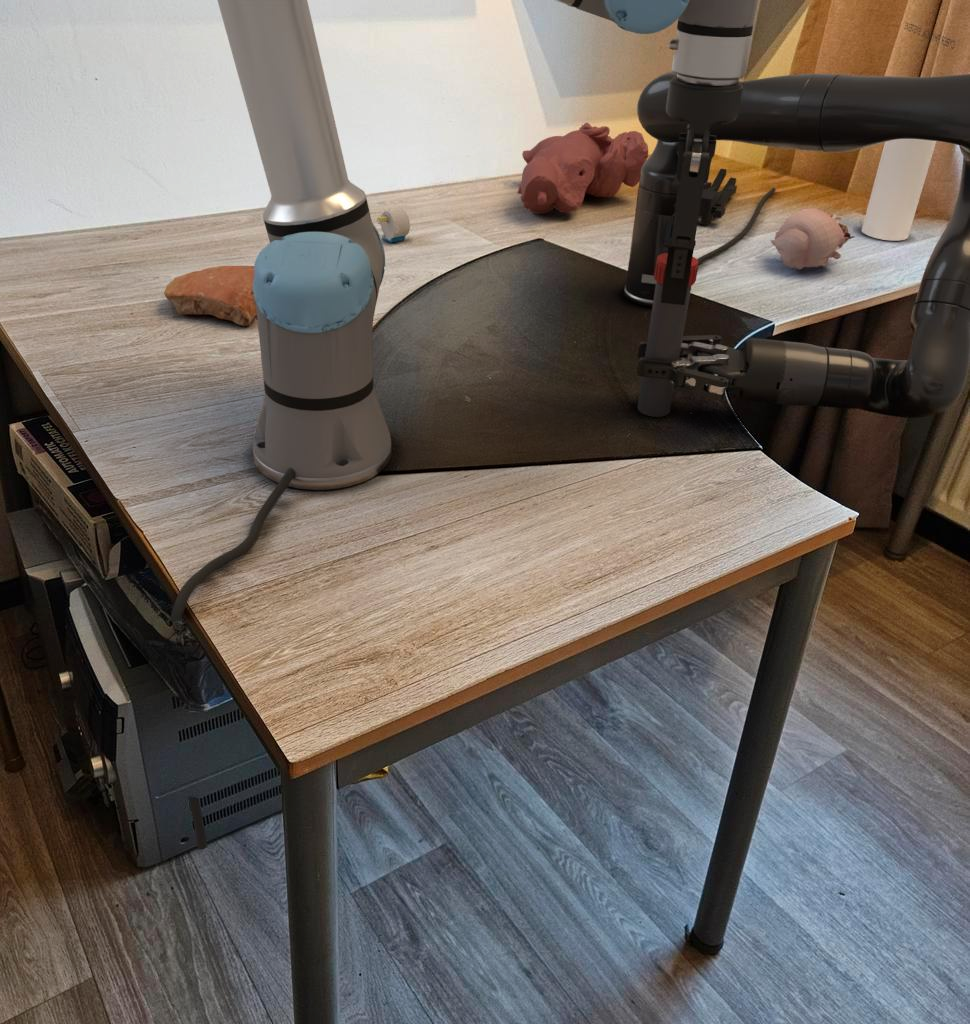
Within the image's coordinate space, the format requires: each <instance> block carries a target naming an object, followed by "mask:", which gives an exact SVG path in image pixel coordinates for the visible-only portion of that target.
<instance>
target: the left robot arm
mask: <svg viewBox="0 0 970 1024" xmlns="http://www.w3.org/2000/svg"><path fill="white" fill-rule="evenodd" d="M555 2H558V3H562V4H564V5H566V6H568V7H571V8H575V9H576V10H580V11H582V12H585V13H588V14H591V15H593V16H596V17H600V18H602V19H605V20H607V21H610V22H613V23H614V24H616V26H617V27H618V28H620V29H622V30H624V31H626V32H630V33H634V34H640V35H650V34H656V33H659V32H661V31H664V30H665V29H667V28H669V27H670V26H672V25H673V24H674V23H676V21H677V24H676V29H677V30H676V38H673V39H670V40H669V42H668V49H669V50H672V51H675V52H674V53H673V57H672V64H671V71H674V72H675V73H676V74H677V76H674V77H673V78H672V79H671V80H670V82H669V89H668V97H667V104H666V113H667V115H668V116H669V117H671V118H673V119H675V120H678V121H686V122H688V123H689V125H687V128H686V129H685V133H680V134H679V141H678V149H677V154H678V156H679V157H678V164H677V172H676V180H677V181H678V182H679V185H678V192H677V198H676V204H675V205H674V210H675V213H674V215H673V218H672V219H673V222H674V224H672V226H671V232H670V239H669V241H664V245H663V247H668V252H667V253H668V255H667V262H666V269H665V276H664V282H663V289H662V296H661V303H669V304H678V305H685V300H686V293H687V287H688V281H689V275H690V269H691V263H692V257H694V251H695V247H696V245H697V244H696V243H697V241H696V234H697V230H698V226H701V225H702V224H701V218H702V216H699V211H700V205H701V199H702V193H703V186H704V184H705V183H706V182H709V177H710V172H711V171H710V170H711V164H712V161H711V159H712V160H713V158H714V156H715V154H716V147H717V140H716V136H715V135H710V129H711V126H712V125H714V124H727V123H731V122H733V121H735V120H736V118H737V117H738V112H739V107H740V101H741V95H742V90H743V86H742V85H741V82H742V81H739V80H740V79H743V78H744V77H745V76H746V75H747V70H748V66H749V65H748V64H749V58H750V53H751V47H752V41H753V35H754V34H753V29H754V22H755V17H756V12H757V6H758V2H759V0H555ZM217 3H218V7H219V11H220V14H221V18H222V21H223V25H224V29H225V33H226V36H227V40H228V43H229V48H230V51H231V55H232V58H233V62H234V65H235V69H236V72H237V76H238V80H239V85H240V87H241V91H242V94H243V98H244V102H245V105H246V110H247V112H248V116H249V119H250V124H251V127H252V131H253V135H254V138H255V141H256V145H257V149H258V153H259V157H260V160H261V163H262V168H263V171H264V174H265V178H266V181H267V186H268V189H269V192H270V200H269V202H268V203H267V204H266V207H265V208H264V210H263V212H262V219H263V223H264V226H265V229H266V233H267V237H268V242H269V243H268V244H267V245H265V246H264V247H263V248H262V249H261V250H260V251H259V253H258V254H257V256H256V259H255V262H254V265H253V266H254V279H253V293H254V299H255V301H256V308H257V314H256V317H257V326H258V327H257V328H258V329H257V330H258V337H259V339H258V340H259V349H260V359H261V369H262V379H263V388H264V390H263V391H264V396H263V400H262V404H261V408H260V412H259V415H258V419H257V423H256V427H255V430H254V434H253V439H252V441H253V442H252V455H253V460H254V464H255V467H256V468H257V470H258V471H259V472H260V473H261V474H262V475H263V476H265V477H266V478H268V479H269V480H271V481H273V482H275V483H277V485H275V488H274V489H273V490H272V492H271V493H270V495H269V496H268V498H267V499H266V501H265V502H264V503H263V504H262V506H261V507H260V509H259V511H258V512H257V514H256V515H255V517H254V520H253V522H252V525H251V527H250V530H249V533H248V535H247V536H246V538H245V539H244V540H243V541H242V542H241V543H240V544H238V545H236V547H234V548H232V549H230V550H229V551H226V552H224V553H222V554H221V555H219V556H217V557H215V558H214V559H212V560H210V561H209V562H208V563H206V564H205V565H204V566H203V567H202V568H201V569H199V570H197V571H196V572H195V573H194V574H193V575H192V576H190V577H189V578H188V580H187V581H185V583H184V584H183V586H182V587H181V589H180V590H179V592H178V594H177V596H176V599H175V601H174V604H173V607H172V610H171V613H170V621H172V622H177V621H180V620H181V619H182V618H183V616H184V613H185V609H186V606H187V604H188V602H189V599H190V597H191V595H192V593H193V591H194V590H195V589H196V588H197V587H198V586H199V585H200V584H202V583H203V582H204V581H205V580H206V579H208V578H209V577H210V576H211V575H213V573H215V572H216V571H218V570H219V569H220V568H222V567H224V566H226V565H227V564H230V563H232V562H233V561H235V560H237V559H238V558H241V557H242V556H243V555H245V554H246V553H248V552H249V551H250V549H251V548H253V546H254V545H255V543H256V542H257V541H258V539H259V538H260V535H261V531H262V529H263V525H264V523H265V522H266V520H267V517H268V516H269V515H270V512H271V511H272V510H273V508H274V507H275V505H276V504H277V503H278V501H279V500H280V498H281V496H282V495H283V494H284V492H285V491H286V489H287V488H288V487H290V488H295V489H301V490H312V491H314V490H315V491H323V490H327V491H328V490H337V489H342V488H348V487H351V486H355V485H358V484H361V483H363V482H366V481H368V480H370V479H373V478H374V477H375V476H377V475H378V474H380V473H381V472H382V471H383V470H384V469H385V468H386V467H387V466H388V464H389V463H390V461H391V458H392V437H391V432H390V430H389V427H388V424H387V422H386V419H385V417H384V413H383V411H382V408H381V406H380V403H379V400H378V398H377V395H376V393H375V385H374V341H373V340H374V339H373V338H374V336H373V333H374V332H373V330H374V318H375V313H376V307H377V302H378V299H379V293H380V288H381V285H382V283H383V279H384V275H385V271H386V270H385V267H386V253H385V248H384V243H383V241H382V238H381V235H380V233H379V231H378V230H377V227H376V226H375V224H374V223H373V221H372V220H373V219H372V216H371V211H370V208H369V204H368V198H367V195H366V192H365V191H364V190H363V189H361V188H360V187H359V186H357V185H356V184H354V183H352V181H350V180H349V176H348V172H347V167H346V163H345V159H344V154H343V149H342V146H341V142H340V137H339V133H338V127H337V124H336V120H335V115H334V110H333V107H332V102H331V97H330V93H329V89H328V83H327V80H326V76H325V71H324V67H323V62H322V59H321V55H320V50H319V46H318V41H317V37H316V32H315V29H314V23H313V19H312V15H311V11H310V7H309V2H308V0H217ZM187 798H188V803H189V808H190V812H191V816H192V822H193V827H194V832H195V838H196V844H197V849H198V850H203V851H204V850H205V849H207V847H208V842H207V837H206V836H207V835H206V830H205V823H204V818H203V813H202V808H201V803H200V798H199V797H195V796H189V795H188V797H187Z"/></svg>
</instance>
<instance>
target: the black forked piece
mask: <svg viewBox="0 0 970 1024" xmlns="http://www.w3.org/2000/svg"><path fill="white" fill-rule="evenodd" d="M727 171H728V170H727V169H726V168H720V169H719V171H718V173H717V175H716V177H715V178H714V180H713V182H710V181H707V182H706V183H705V184H704V186H703V193H702V199H701V205H700V211H699V216H702V218H701V225H706V226H707V225H709V223H711V221H712V220H713V218H716V219H722V217H723V216H724V215H725V212H726V204H727V203H728V201H729V199H730V198H731V197H732V196H734V195H735V194H736V193H737V188H738V185H736V182H737V177H732V176H731V177H730V178H729V179H728V180H727V182H726V183H725V185H724V187H723V188H722V190H719V189H720V188H721V186H722V184H723V181H724V180H725V178H726V176H727Z"/></svg>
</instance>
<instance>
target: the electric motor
mask: <svg viewBox="0 0 970 1024" xmlns="http://www.w3.org/2000/svg"><path fill="white" fill-rule="evenodd" d="M376 222H377V224H378V225H380V227H381V231H382V233H383V238H384V240H385V241H388V242H389V243H394V242H395V243H396V242H399V241H404V240H405V238H406V236H407V235H409V233H410V229H411V222H410V218H409V216H408V213H407V212H406V210H404V209H403V208H397V209H392V210H387V211H384V212H383V213H382V214H381V216H378V217H377V218H376Z"/></svg>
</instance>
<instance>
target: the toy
mask: <svg viewBox="0 0 970 1024" xmlns="http://www.w3.org/2000/svg"><path fill="white" fill-rule="evenodd" d="M842 221H843V220H842V217H840V216H838V215H837V214H835V213H833V214H831V215H830V214H828V213H827V212H826V211H823V210H820V209H817V208H802V209H799V210H797V211H796V212H793V213H792V214H791V215H790V216H789V217H787V218H786V219H785V220H784V221H783V223H782V224H781V226H780V227H779V229H778V231H775V236H774V239H770V240H769V241H770V243H771V244H772V245H773V247H775V249H776V250H777V251H776V252H778V254H779V256H780V258H781V260H782V262H783V264H785V266H787V267H788V268H791V269H796V270H797V271H798V270H799V271H800V270H801V271H802V270H803V269H804V268H817V269H819V267H820V266H821V268H824V267H826V266H828V264H829V260H830V259H832V258H833V259H835V260H839V259H841V257H842V254H840V253H839V252H838V250H840V249H842V248H843V246H844V245H845V244H846V243H847V242H848V241H849V240H852V239H854V238H855V236H851V233H850V231H849V228H848V224H847V223H842Z"/></svg>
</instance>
